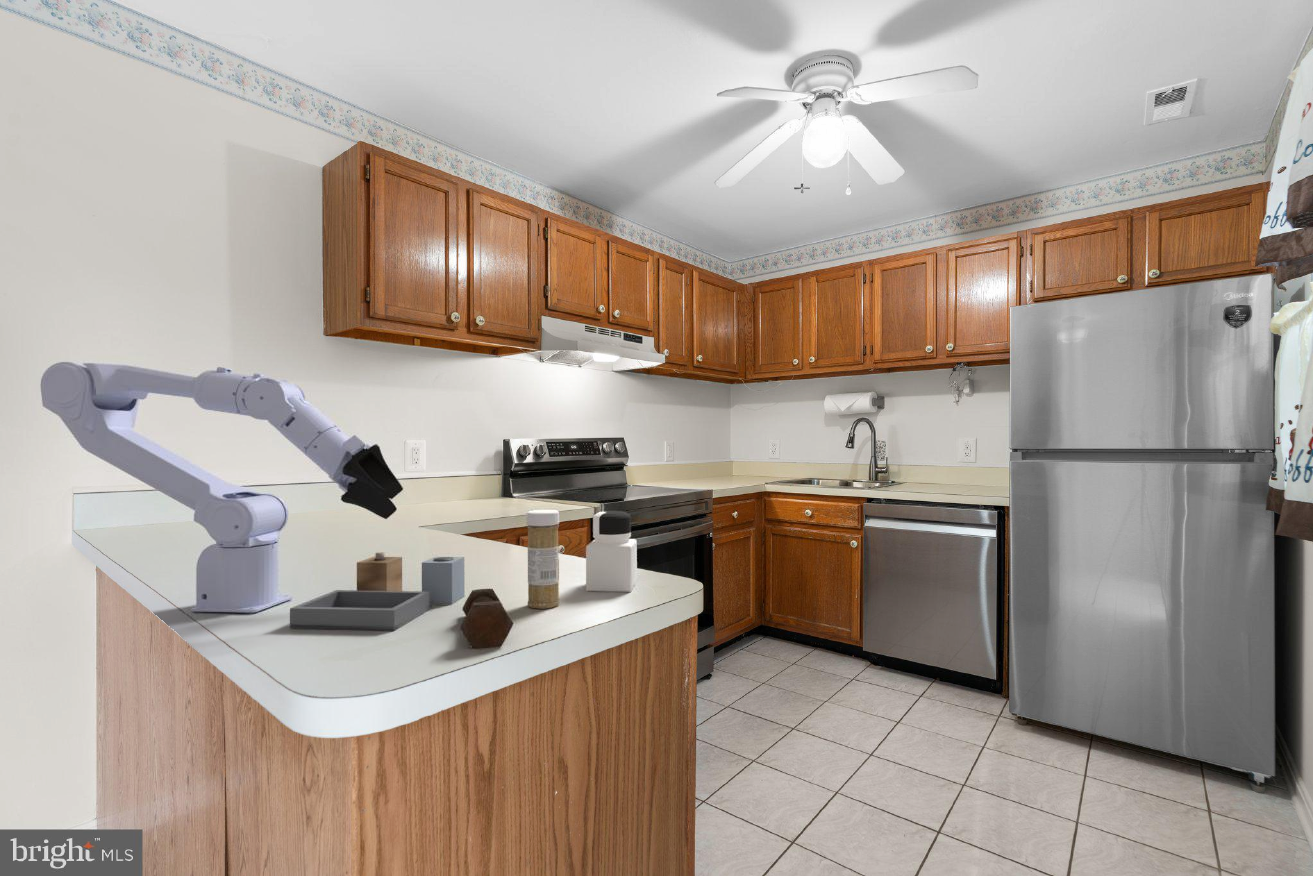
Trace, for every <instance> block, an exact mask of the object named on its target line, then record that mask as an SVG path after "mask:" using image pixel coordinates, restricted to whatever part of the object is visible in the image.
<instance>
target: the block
mask: <svg viewBox="0 0 1313 876" xmlns="http://www.w3.org/2000/svg"><path fill="white" fill-rule="evenodd" d="M356 590H362V591H403V557H402V556H385V552H384V551H382V552H381V551H380V552H375V556H372V557H369V558H366V559H363V560H360V561H357V562H356Z"/></svg>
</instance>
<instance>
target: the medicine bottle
mask: <svg viewBox="0 0 1313 876" xmlns="http://www.w3.org/2000/svg"><path fill="white" fill-rule="evenodd" d="M631 520H632V517H631V514H630V513H627V512H626V511H622V510H621V511H620V510H607V511H599V512H597V513H595V514H594V515H593V516H592V533H593V534H592V537H593V538H594V539H593V540H592V541H591V542H589V544H587V545H586V547H585V590H586V591H587V592H604V593H605V592H608V593H609V592H610V593H611V592H613V593H614V592H615V593H616V592H617V593H618V592H619V593H620V592H621V593H630V592H632V590H633V589H634V587H635V585H636V583H637V581H638V561H637V559H638V557H637V556H638V554H637V553H638V552H637V551H638V546H637V545H638V542H637V539H635V538H631V537H632V526H631V525H632V522H631Z"/></svg>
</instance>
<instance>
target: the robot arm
mask: <svg viewBox="0 0 1313 876" xmlns="http://www.w3.org/2000/svg"><path fill="white" fill-rule="evenodd" d="M40 394H41V395H40V396H41V402H42V403H41V404H42V406H43V408H45V409H46V410H48V411H50V412H51V413H53V414H54V415H56V416H58V417H59V418H60V419H61V420H62V422H63V423H64V425H65V427H66V428H67V429H68V430H69V432H70V433H71V434H72V436H73V438H74V439H75V440H76V441H77V443H78V445H80V446H81V448H82V449H83V450H85V451H86V452H87V453H90V454H92V455H93V456H94V457H97V458H98V459H100V460H102V461H104V462H106V463H108V464H109V465H111V466H113V467H115V468H117V469H119V470H121V471H123V472H124V473H126V474H128V475H129V476H132V477H133V478H135V479H137V480H139V481H140V482H142V483H144V484H145V485H148V486H149V487H151V488H153V489H155V490H157V491H159V492H160V493H162V494H164V495H166V496H168V497H169V498H171V499H173V500H175V501H177V502H179V503H180V504H182V505H184V506H185V507H188V508H189V509H190V510H192V511H194V513H193V521H194V522H195V523H198V524H199V525H201V527H203V528H204V529H205V530H206V532H207V533H208V535H209V536H210V537H211V539H213V540H214V541H215V543H214V544H210V545H208V546H207V547H205V548H204V549H203V550H202V551H201V552H200V555H199V556H198V558H197V561H196V567H195V568H196V569H195V570H196V571H195V572H196V576H195V582H196V585H195V586H196V587H195V588H196V591H195V592H196V593H195V596H196V597H195V598H196V599H195V601H196V602H195V606H194V607H192V608H191V610H190V611H191V612H197V613H198V612H199V613H200V612H202V613H203V612H206V613H257V612H260V611H263V610H266V609H269V608H271V607H273V606H277V605H278V604H283V603H284V602H287V601H289V600H293V596H294V595H293V594H291V595H289V594H279V591H280V590H279V586H280V583H279V577H280V576H279V575H280V574H279V572H280V569H279V567H280V566H279V563H280V561H279V557H280V555H279V553H280V551H279V546H280V545H279V544H280V543H279V539H280V532H281V531H282V530H283V529H284V528H285V526H286V525H287V523H288V521H289V509H288V506H287V504H286V502H285V501H284V500H283V499H282V498H281V497H279V496H277V495H275V494H271V493H260V492H257V491H256V490H253V489H252V488H249V487H246V486H242V485H237V484H234V483H233V484H232V483H230V482H227V481H225V480H223V479H222V478H220V477H218V476H216V475H214V474H212V473H211V472H209V471H207V470H205V469H204V468H201V467H200V466H198V465H196V464H194V463H192V462H191V461H189V460H187V459H185V458H184V457H182V456H180V455H178V454H177V453H174V452H173V451H171V450H169V449H167V448H166V447H164V446H162V445H160V444H158V443H156V442H154V440H151V439H149V438H147V437H146V436H144V435H142V434H140V433H138V432H137V431H135V430H134V427H135V425H136V420H137V413H138V409H139V401H140V400H145V399H147V397H148V395H149V394H157V395H164V396H165V395H167V396H173V397H183V398H190V399H193V400H194V402H195V403H196V404H197V405H198V407H199V408H201V409H203V410H206V411H213V412H219V413H228V414H233V415H241V416H247V417H251V418H253V419H255V420H262V421H267V422H268V423H269V424H270V425H272V427H274V428H275V429H276V430H277V431H278V432H279V433H280V434H281V435H282V436H284V438H286V440H288V441H289V442H290V443H291V444H292V445H294V446H295V447H296V449H298V450H299V451H301V452H302V453H303V455H305V456H306V457H307V458H308V459H310V460H311V462H312V463H315V465H317V466H318V467H319V469H321V470H322V471H323V472H325V473H326V475H328V478H329V479H330V480H331V481H332V482H334V483H336V484H337V485H338V488H339V489H341V490H342V491H343V492H344V493H343V494H342V495H341V496H340V501H342V502H343V503H346V504H350V505H354V506H357V507H361V508H363V509H365V510H366V511H369V512H371V513H373V514H375V515H376V516H378V517H380V518H383V519H385V520H387V519H388V518H390V517H391V516H392V515H393V514H394V513H395V512H396V511H397V506H396V505H395V503H394V502H393V501H392V500H393V499H394V498H395V497H396V496H398V495H399V494H400V493H401V492H402V491H403V490H404V487H403V486H402V484H401V482H400V481H399V480H398V478H397V477H396V476H395V474H394V473H393V472H392V469H390V467H389V465H388V463H387V461H386V460H385V458H384V456H383V453H382V450H381V448H380V446H379V445H378V444H377V443H376V444H373V445H371V444H370V443H366V442H364V441H363V440H362V439H360V437H358V436H357V435H356V434H353V435H352V436H351V437H350V436H348V435H347V433H345V432H344V431H343V430H342V429H340V427H338V426H337V425H336V424H335V423H334V422H333V421H331V420H330V418H328V417H327V416H326V415H324V414H323V412H321V411H320V410H319V409H318V408H317V407H316V406H314V405H312V404H311V403H310V402H309V401H308V400H307V399H306V396H305V393H304V391H303V389H302V388H301V387H299V385H297V384H295V383H292V382H290V381H288V380H286V379H285V380H284V379H283V380H279V379H275V378H274V379H273V378H269V377H266V375H265V374H262V373H253V375H248V374H247V375H246V374H239V373H233V369H232V368H227V367H221V366H217V367H216V370H214V369H209V370H205V371H203V372H201V373H200V374H198V375H197V376H193V375H192V376H191V375H185V374H181V373H176V372H169V371H164V370H157V369H152V368H146V367H140V366H135V365H134V366H132V365H127V364H113V363H96V362H83V363H82V364H78V363H75V362H72V361H60V362H56V363H54V364H52V365H50V366H49V367H48V368H46V370H45V371H44V372H43V374H42V376H41V379H40Z"/></svg>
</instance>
